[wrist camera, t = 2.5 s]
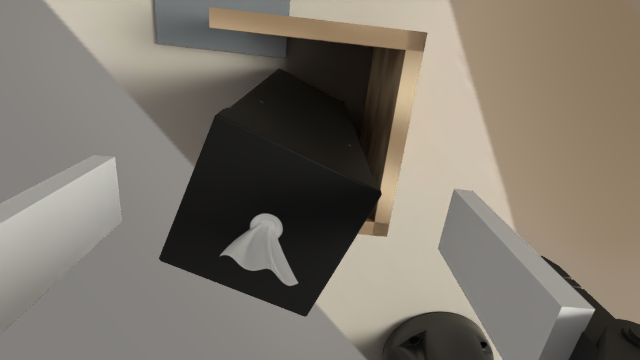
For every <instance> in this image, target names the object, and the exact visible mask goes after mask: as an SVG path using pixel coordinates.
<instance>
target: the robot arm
mask: <svg viewBox="0 0 640 360" xmlns="http://www.w3.org/2000/svg"><path fill="white" fill-rule="evenodd" d="M121 221H122V216H121V206H120V197H119V188H118V179H117V170H116V162H115V157H113V156H102V155H93V156H91V157H89V158H87V159H85V160H83V161H81V162H79V163H77V164H75V165H73V166H72V167H70V168H68V169H66V170H64V171H62V172H60V173H58V174H56V175H54V176H52V177H50V178H48V179H47V180H44V181H43V182H41V183H39V184H37V185H35V186H33V187H31V188H29V189H27V190H25V191H23V192H21V193H20V194H18V195H16V196H14V197H12V198H10V199H8V200H6V201H4V202H2V203H0V335H1V334H2V333H3V332H4V331H5V330H6V329H7V328H8V327H9V326H10V325H12V323H14V322H15V321H16V320H17V319H18V318H19V317H20V316H21V315H22V314H23V313H24V312H26V310H28V308H30V307H31V306H32V305H33V304H34V303H35V302H36V301H37V300H38V299H39V298H40V297H41V296H43V295H44V294H45V293H46V292H47V291H48V290H49V289H50V288H51V287H52V286H53V285H54V284H55V283H56V282H57V281H59V280H60V279H61V278H62V277H63V276H64V275H65V274H66V273H67V272H68V271H69V270H70V269H71V268H73V267H74V266H75V265H76V264H77V263H78V262H79V261H80V260H81V259H82V258H83V257H84V256H85V255H86V254H87V253H88V252H90V251H91V250H92V249H93V248H94V247H95V246H96V245H97V244H98V243H99V242H100V241H101V240H102V239H103V238H105V236H107V235H108V234H109V233H110V232H111V231H112V230H113V229H114V228H115V227H116V226H117V225H118V224H120V223H121ZM438 249H439V251H440V253H441V254H442V256H443V258H444V260H445V261H446V263H447V265H448V266H449V268H450V270H451V272H452V273H453V275H454V277H455V278H456V280H457V282H458V284H459V285H460V287H461V289H462V291H463V292H464V294H465V296H466V297H467V299H468V301H469V303H470V304H471V306H472V308H473V309H474V311H475V313H476V315H477V316H478V318H479V320H480V321H481V323H482V325H483V327H484V328H485V330H486V332H487V333H488V335H489V337H490V339H491V340H492V342H493V344H494V345H495V347H496V349H497V351H498V352H499V354H500V356H501V357H502V359H503V360H640V324H637V323H634V322H631V321H627V320H622V319H615V318H614V317H613V316H612V315H611V314H610V313H609V312H608V311H607V310H606V309H604V308H603V307H602V306H601V305H600V304H599V303H598V302H597V301H596V300H595V299H594V298H593V297H592V296H591V295H589V294H588V293H587V292H586V291H585V290H584V289H581V286H580V285H579V284H578V283H577V282H576V281H574V280H571V277H570V276H569V275H568V274H567V273H566V272H565V271H564V270H563V269H562V268H560V266H558V265H556V264H554V263H553V262H552V261H550V260H548V259H547V258H545V257H543V256H540V255H538V254H537V253H536V252H535V251H534V250H533V249H532V248H531V247H530V246H529V245H528V244H527V243H526V242H525V241H524V240H523V239H522V238H521V237H520V236H519V235H518V234H517V233H516V232H515V231H514V230H513V229H512V228H511V227H510V226H509V225H507V224H506V223H505V222H504V221H503V220H502V219H501V218H500V217H499V216H498V215H497V214H496V213H495V212H494V211H493V210H492V209H491V208H490V207H489V206H488V205H487V204H486V203H485V202H484V201H483V200H482V199H481V198H480V197H479V196H478V195H476V194H475V193H474V192H473V191H469V190H458V189H454V191H453V194H452V198H451V202H450V206H449V209H448V213H447V217H446V221H445V224H444V228H443V232H442V236H441V239H440V243H439V247H438ZM383 360H494V358H493V352H492V349H491V346H490V344H489V342H488V340H487V339H486V337H485V335H484V333H483V332H482V330H481V329H480V327H479V326H478V325H477V324H475V323H474V322H473V321H471V320H470V319H468V318H466V317H464V316H461V315H458V314H453V313H445V312H438V313H429V314H424V315H421V316H418V317H415V318H413V319H411V320H409V321H407V322H405V323H404V324H402V325H401V326H399V327H398V328H397V329H396V330H395V331H394V332H393V333H392V334H391V335H390V337H389V338H388V340H387V342H386V344H385V347H384V351H383Z"/></svg>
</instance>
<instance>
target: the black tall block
mask: <svg viewBox="0 0 640 360" xmlns="http://www.w3.org/2000/svg"><path fill="white" fill-rule="evenodd" d="M381 195H382V193H381V190H380V187H379V185H378V182H377V180H376V179H375V178H374V175H373V173H372V170H371V168H370V165H369V163H368V160H367V158H366V155H365V153H364V150H363V148H362V146H361V143H360V141H359V138H358V136H357V133H356V131H355V128H354V126H353V123H352V121H351V118H350V116H349V113H348V111H347V108H346V106H345V103H344V102H343V101H342V100H340V99H338V98H336V97H334V96H332V95H330V94H328V93H326V92H324V91H322V90H320V89H318V88H316V87H314V86H312V85H311V84H309V83H307V82H305V81H303V80H301V79H299V78H297V77H295V76H293V75H291V74H289V73H287V72H285V71H283V70H281V69H278V70H277V71H275V72H274V73H273V74H272V75H270V76H269V77H268V78H267V79H265V80H264V81H263V82H262V83H260V84H259V85H258V86H257V87H255V88H254V89H253V90H252V91H250V92H249V93H248V94H247V95H245V96H244V97H243V98H242V99H240V100H239V101H238V102H237V103H235V104H234V105H233V106H232V107H230V108H226V109H223V110H222V111H221V112H219V113H218V114H217V115H215V117H214V120H213V123H212V125H211V128H210V130H209V133H208V135H207V138H206V140H205V143H204V145H203V148H202V150H201V153H200V156H199V158H198V161H197V163H196V166H195V168H194V171H193V173H192V176H191V178H190V181H189V184H188V186H187V189H186V191H185V194H184V196H183V199H182V201H181V204H180V206H179V209H178V211H177V214H176V217H175V219H174V222H173V224H172V227H171V229H170V232H169V234H168V237H167V239H166V242H165V245H164V247H163V250H162V252H161V255H160V257H159V259H160V260H161V261H162V262H165V263H168V264H170V265H173V266H175V267H178V268H181V269H183V270H186V271H188V272H191V273H193V274H196V275H199V276H201V277H204V278H206V279H209V280H212V281H214V282H217V283H219V284H222V285H224V286H227V287H230V288H232V289H235V290H237V291H240V292H243V293H245V294H248V295H250V296H253V297H255V298H258V299H261V300H264V301H266V302H268V303H271V304H274V305H276V306H279V307H281V308H284V309H287V310H289V311H292V312H295V313H297V314H300V315H302V316H307V315H308V313H309V311H310V310H311V308H312V306H313V305H314V303H315V302H316V300H317V299H318V297H319V295H320V294H321V292H322V290H323V289H324V287H325V286H326V284H327V282H328V281H329V279H330V278H331V276H332V274H333V273H334V271H335V270H336V268H337V266H338V265H339V263H340V261H341V260H342V258H343V257H344V255H345V253H346V252H347V250H348V249H349V247H350V245H351V244H352V242H353V241H354V239H355V237H356V236H357V234H358V232H359V231H360V229H361V228H362V226H363V224H364V223H365V221H366V220H367V218H368V216H369V215H370V213H371V212H372V210H373V208H374V207H375V205H376V203H377V202H378V200H379V199H380V197H381Z"/></svg>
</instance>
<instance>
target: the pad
mask: <svg viewBox="0 0 640 360" xmlns="http://www.w3.org/2000/svg"><path fill="white" fill-rule="evenodd" d="M289 6H290V0H155V14H156V32H157V44H163V45H172V46H181V47H190V48H199V49H208V50H217V51H226V52H235V53H244V54H253V55H262V56H271V57H280V58H286V50H287V37H280V36H271V35H262V34H253V33H245V32H238V31H231V30H224V29H217V28H210V27H209V7H213V8H221V9H230V10H238V11H247V12H255V13H264V14H273V15H281V16H289Z"/></svg>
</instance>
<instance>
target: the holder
mask: <svg viewBox="0 0 640 360" xmlns="http://www.w3.org/2000/svg"><path fill="white" fill-rule="evenodd" d="M209 27H210V28H217V29H224V30H231V31H238V32H245V33H253V34H262V35H271V36H280V37H288V38H297V39H306V40H314V41H323V42H332V43H341V44H350V45H358V46H367V47H374V52H373V58H372V65H371V71H370V78H369V85H368V91H367V98H366V104H365V111H364V118H363V124H362V131H361V138H360V143H361V146H362V148H363V150H364V153H365V155H366V158H367V160H368V163H369V165H370V168H371V170H372V173H373V175H374V178H375V179H376V180H377V182H378V185H379V187H380V190H381V193H382V195H381V197H380V199H379V200H378V202H377V203H376V205H375V207H374V208H373V210H372V212H371V213H370V215H369V216H368V218H367V220H366V221H365V223H364V224H363V226H362V228H361V229H360V231H359V232H358V234H363V235H374V236H386V237H387V233H388V228H389V223H390V218H391V213H392V208H393V203H394V198H395V193H396V188H397V183H398V178H399V173H400V168H401V163H402V158H403V153H404V148H405V143H406V138H407V133H408V128H409V122H410V117H411V112H412V107H413V102H414V97H415V92H416V87H417V82H418V77H419V72H420V67H421V62H422V57H423V52H424V47H425V42H426V37H427V32H418V31H409V30H401V29H392V28H384V27H375V26H367V25H358V24H350V23H341V22H332V21H324V20H315V19H307V18H298V17H290V16H281V15H273V14H264V13H255V12H247V11H238V10H230V9H221V8H213V7H209Z"/></svg>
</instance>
